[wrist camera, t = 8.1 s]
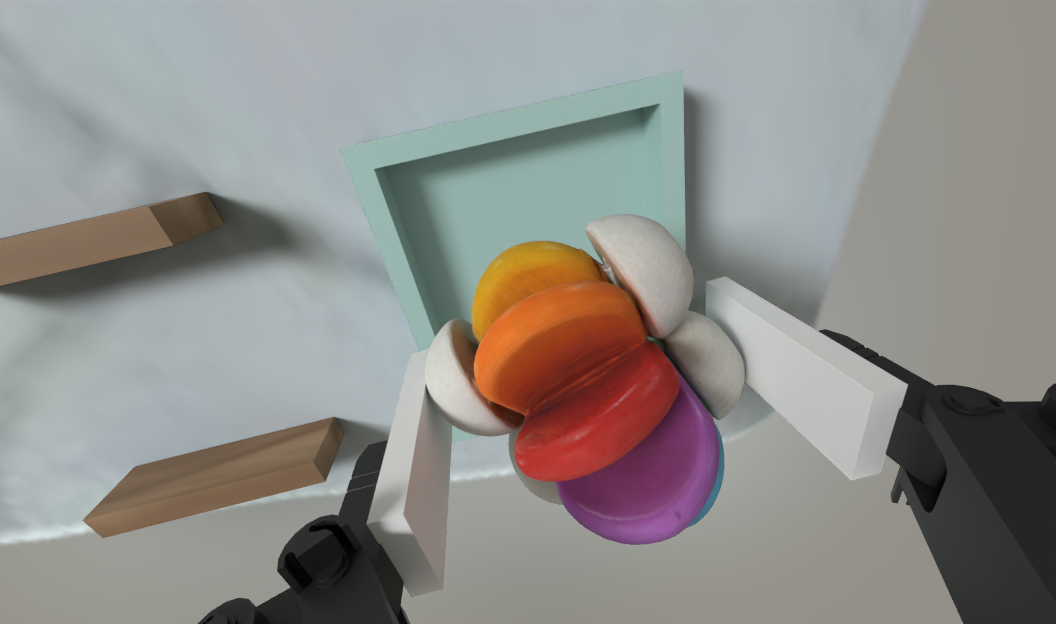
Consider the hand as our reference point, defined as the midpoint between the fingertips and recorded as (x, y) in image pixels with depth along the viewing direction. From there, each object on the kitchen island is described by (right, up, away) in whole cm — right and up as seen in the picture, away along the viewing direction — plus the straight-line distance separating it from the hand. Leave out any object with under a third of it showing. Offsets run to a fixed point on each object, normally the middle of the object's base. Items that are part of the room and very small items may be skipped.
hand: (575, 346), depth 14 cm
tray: (-1, +3, +7) cm, 8 cm away
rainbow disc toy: (0, 0, 0) cm, 1 cm away
